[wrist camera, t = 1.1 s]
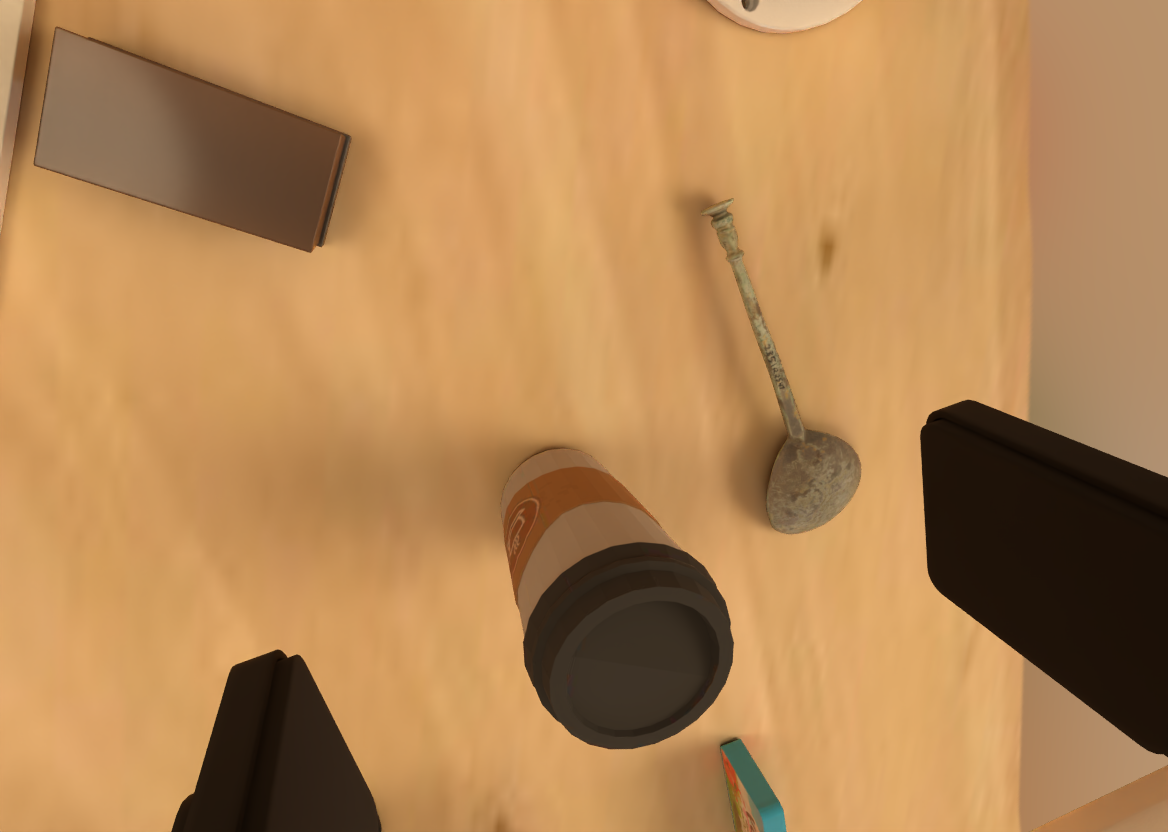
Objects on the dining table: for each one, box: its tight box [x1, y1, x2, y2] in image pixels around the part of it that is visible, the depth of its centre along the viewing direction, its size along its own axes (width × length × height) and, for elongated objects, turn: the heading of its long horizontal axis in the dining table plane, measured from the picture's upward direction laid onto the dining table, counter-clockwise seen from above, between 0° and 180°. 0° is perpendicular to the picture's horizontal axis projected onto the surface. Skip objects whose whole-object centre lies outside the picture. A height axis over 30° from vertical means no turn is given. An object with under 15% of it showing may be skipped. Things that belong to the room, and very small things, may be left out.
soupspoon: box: [701, 199, 861, 534], centre depth 40 cm, size 22×3×7 cm
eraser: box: [34, 27, 352, 253], centre depth 28 cm, size 5×10×4 cm, turn 69°
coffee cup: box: [501, 448, 734, 749], centre depth 33 cm, size 8×8×15 cm
